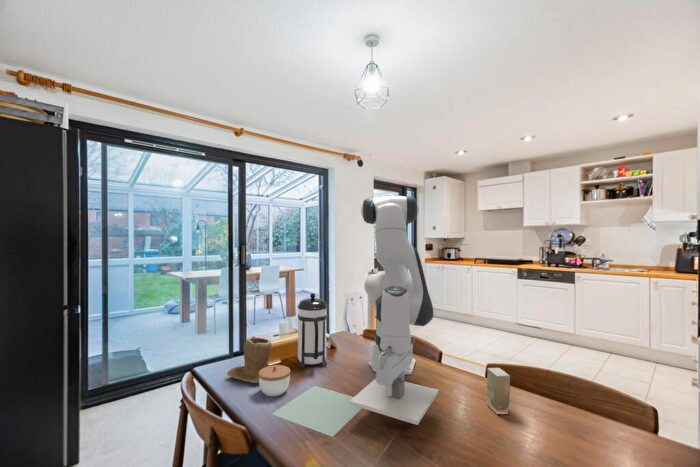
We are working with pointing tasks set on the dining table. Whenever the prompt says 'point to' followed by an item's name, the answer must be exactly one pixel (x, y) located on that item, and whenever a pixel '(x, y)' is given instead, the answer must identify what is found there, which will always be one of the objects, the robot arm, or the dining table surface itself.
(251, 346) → the brown boot
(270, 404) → the dining table surface
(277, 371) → the lidded jar
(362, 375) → the dining table surface
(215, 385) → the dining table surface
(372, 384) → the lid
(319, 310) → the coffee press
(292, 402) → the mat
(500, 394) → the skincare box
